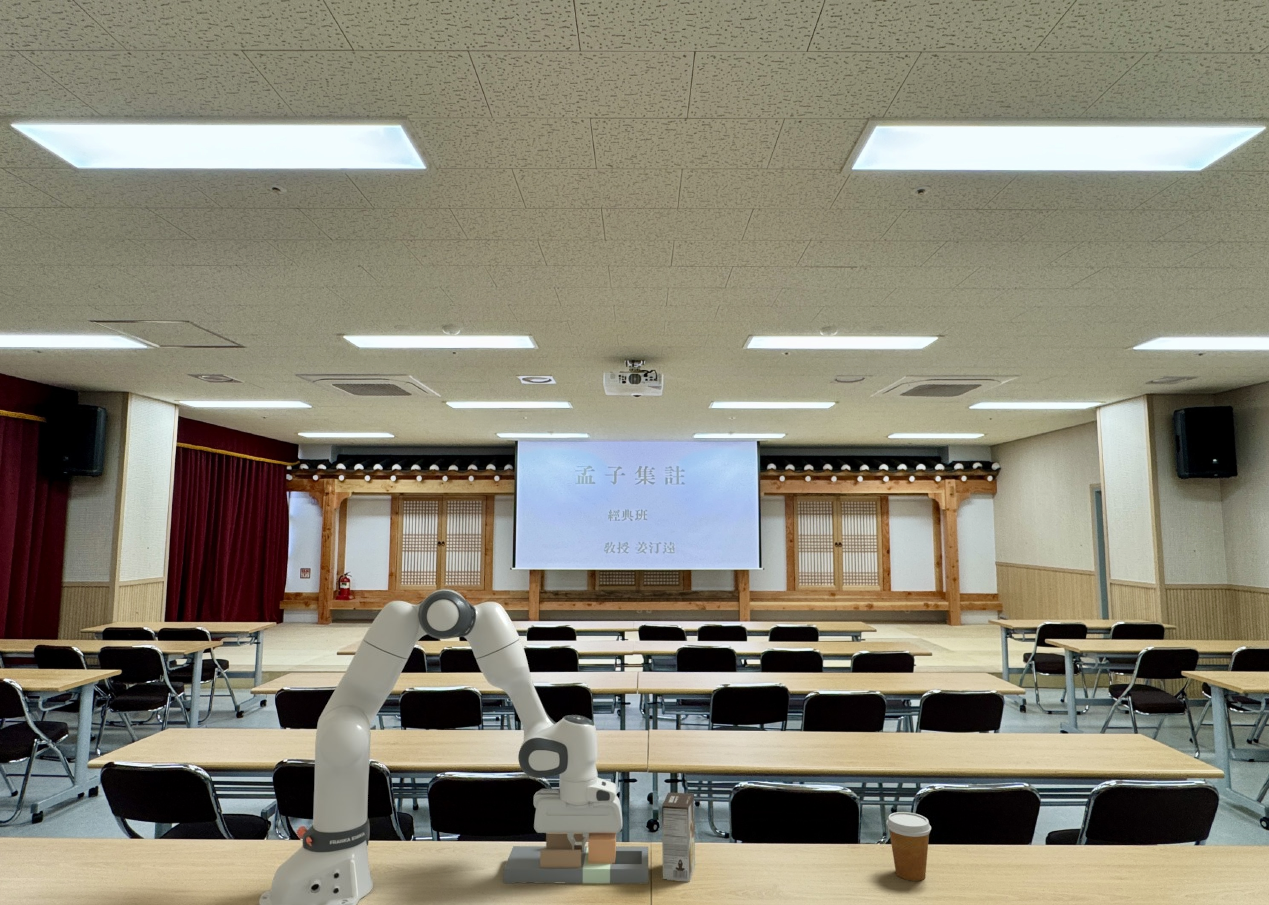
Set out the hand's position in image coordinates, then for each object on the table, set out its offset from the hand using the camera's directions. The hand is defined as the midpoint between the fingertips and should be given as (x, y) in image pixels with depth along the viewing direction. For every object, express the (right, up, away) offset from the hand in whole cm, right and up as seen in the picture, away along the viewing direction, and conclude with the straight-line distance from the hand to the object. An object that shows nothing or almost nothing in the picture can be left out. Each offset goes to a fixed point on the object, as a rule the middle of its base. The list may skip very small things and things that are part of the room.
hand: (578, 851), depth 174 cm
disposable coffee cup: (+75, -4, -3) cm, 75 cm away
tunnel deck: (0, -4, 0) cm, 4 cm away
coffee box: (+23, -4, -1) cm, 23 cm away
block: (+5, -1, 0) cm, 6 cm away
